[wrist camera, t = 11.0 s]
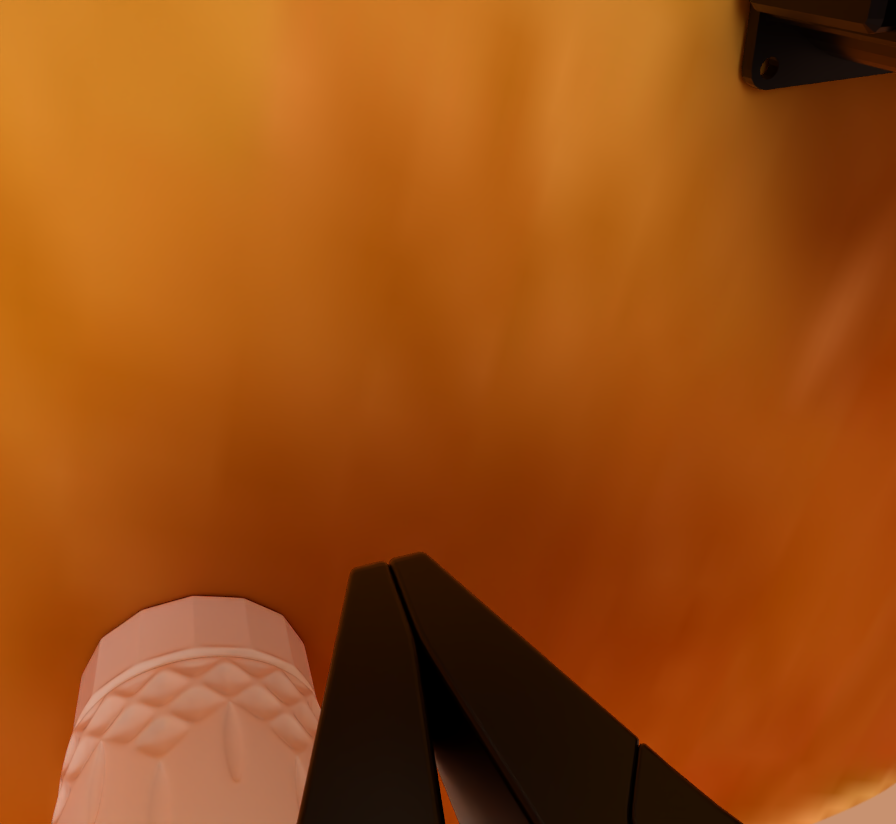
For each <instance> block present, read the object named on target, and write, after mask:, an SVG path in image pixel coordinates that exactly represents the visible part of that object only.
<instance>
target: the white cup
mask: <svg viewBox="0 0 896 824" xmlns="http://www.w3.org/2000/svg"><path fill="white" fill-rule="evenodd" d="M320 711H321V709H320V706H319V704H318V702H317V699H316V695H315V690H314V685H313V681H312V677H311V672H310V668H309V663H308V659H307V655H306V650H305V646H304V643H303V642H302V640H301V639H300V638H299V636H298V635H297V634H296V632H295V631H294V630H293V628H292V627H291V626H290V624H289V623H288V622H287V620H286V619H285V617H284V616H283V615H281V614H279V613H277V612H275V611H272V610H270V609H268V608H265V607H263V606H261V605H259V604H256V603H254V602H252V601H249V600H247V599H245V598H235V597H214V596H190V597H186V598H183V599H179V600H175V601H172V602H168V603H164V604H161V605H157V606H154V607H150V608H147V609H143V610H141V611H139V612H138V613H137V614H135V615H134V616H132V617H131V618H130V619H128V620H127V621H125V622H124V623H122V624H121V625H120V626H118V627H117V628H115V629H114V630H112V631H111V632H110V633H108V634H107V635H105V636H104V637H103V638H102V639H101V640H100V642H99V644H98V646H97V648H96V649H95V651H94V653H93V655H92V657H91V659H90V661H89V663H88V665H87V666H86V668H85V670H84V672H83V674H82V678H81V684H80V690H79V696H78V702H77V708H76V714H75V720H74V727H73V733H72V736H71V739H70V742H69V745H68V748H67V752H66V755H65V759H64V763H63V767H62V772H61V777H60V785H59V793H58V799H57V802H56V806H55V810H54V814H53V818H52V823H51V824H297V819H298V815H299V810H300V805H301V800H302V796H303V791H304V786H305V782H306V777H307V772H308V768H309V763H310V758H311V754H312V749H313V744H314V740H315V735H316V730H317V725H318V721H319V716H320Z"/></svg>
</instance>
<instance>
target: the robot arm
mask: <svg viewBox="0 0 896 824" xmlns="http://www.w3.org/2000/svg"><path fill="white" fill-rule="evenodd" d="M750 2H751V6H750V13H749V20H748V27H747V35H746V42H745V49H744V56H743V64H742V77H743V79H744V81H745V82H746V83H747V84H748V85H750V86H752V87H755V88H758V89H763V90H769V89H776V88H783V87H790V86H798V85H805V84H812V83H819V82H827V81H834V80H841V79H848V78H856V77H863V76H870V75H877V74H885V73H892V72H896V0H750ZM767 58H769V66H768V68H767V70H766V72H765V73H764V74H763V75H761V74H760V69H761V66H762V63H763V62H764V61H765V60H766V59H767ZM638 746H639V747H638ZM436 766H437V767H436ZM437 769H438V771H439V774H440V776H441V779H442V781H443V784H444V786H445V789H446V791H447V794H448V796H449V799H450V801H451V804H452V806H453V809H454V811H455V814H456V816H457V819H458V821H459V824H743V823H742V822H740V821H739V820H737V819H736V818H735V817H733V816H732V815H731V814H729V813H728V812H727V811H725V810H724V809H723V808H721V807H720V806H718V805H717V804H716V803H715V802H714V801H712V800H711V799H710V798H709V797H708V796H706V795H705V794H704V793H703V792H701V791H700V790H699V789H698V788H697V787H695V786H694V785H693V784H692V783H690V782H689V781H688V780H687V779H686V778H684V777H683V776H682V775H681V774H680V773H678V772H677V771H676V770H675V769H673V768H672V767H671V766H670V765H669V764H668V763H667V762H666V761H664V760H663V759H662V758H661V757H660V756H659V755H658V754H656V753H655V752H654V751H653V750H652V749H651V748H650V747H648V746H647V745H646V744H644V743H642V744H640V745H639V739H638V738H637V737H636V736H635V735H634V734H633V733H632V732H631V731H630V730H628V729H627V728H626V727H625V726H624V725H623V724H622V723H620V722H619V721H618V720H617V719H616V718H615V717H614V716H612V715H611V714H610V713H609V712H608V711H607V710H605V709H604V708H603V707H602V706H601V705H600V704H599V703H597V702H596V701H595V700H594V699H593V698H592V697H591V696H589V695H588V694H587V693H586V692H585V691H584V690H582V689H581V688H580V687H579V686H578V685H577V684H576V683H574V682H573V681H572V680H571V679H570V678H569V677H568V676H566V675H565V674H564V673H563V672H562V671H561V670H559V669H558V668H557V667H556V666H555V665H554V664H553V663H551V662H550V661H549V660H548V659H547V658H546V657H545V656H543V655H542V654H541V653H540V652H539V651H538V650H536V649H535V648H534V647H533V646H532V645H531V644H530V643H528V642H527V641H526V640H525V639H524V638H523V637H522V636H520V635H519V634H518V633H517V632H516V631H515V630H513V629H512V628H511V627H510V626H509V625H508V624H507V623H505V622H504V621H503V620H502V619H501V618H500V617H499V616H497V615H496V614H495V613H494V612H493V611H492V610H490V609H489V608H488V607H487V606H486V605H485V604H484V603H482V602H481V601H480V600H479V599H478V598H477V597H476V596H474V595H473V594H472V593H471V592H470V591H469V590H468V589H466V588H465V587H464V586H463V585H462V584H461V583H459V582H458V581H457V580H456V579H455V578H454V577H453V576H451V575H450V574H449V573H448V572H447V571H446V570H445V569H443V568H442V567H441V566H440V565H439V564H438V563H436V562H435V561H434V560H433V559H432V558H431V557H430V556H428V555H427V554H426V553H423V552H416V553H412V554H408V555H404V556H400V557H396V558H393V559H391V560H390V562H389V565H388V564H387V563H386V562H384V561H379V562H375V563H371V564H367V565H363V566H359V567H355V568H354V569H353V570H352V571H351V573H350V576H349V580H348V585H347V589H346V594H345V599H344V603H343V608H342V613H341V618H340V622H339V627H338V632H337V636H336V641H335V646H334V650H333V655H332V660H331V664H330V669H329V674H328V679H327V683H326V688H325V693H324V697H323V702H322V707H321V711H320V716H319V721H318V725H317V730H316V735H315V740H314V744H313V749H312V754H311V758H310V763H309V768H308V772H307V777H306V782H305V786H304V791H303V796H302V800H301V805H300V810H299V815H298V819H297V824H445V819H444V813H443V806H442V800H441V793H440V786H439V780H438V773H437Z"/></svg>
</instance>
